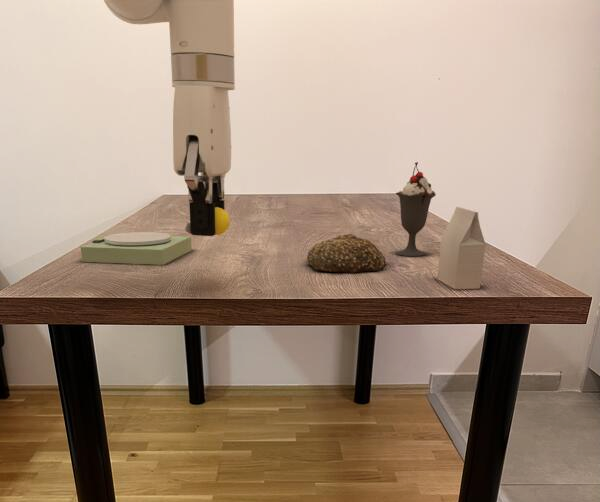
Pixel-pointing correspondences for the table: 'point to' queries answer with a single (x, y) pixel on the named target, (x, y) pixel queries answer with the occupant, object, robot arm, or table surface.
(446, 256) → the gable-top milk carton
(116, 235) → the scale
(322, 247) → the bread roll
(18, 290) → the table surface
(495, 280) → the table surface
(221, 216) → the light bulb
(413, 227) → the sundae
